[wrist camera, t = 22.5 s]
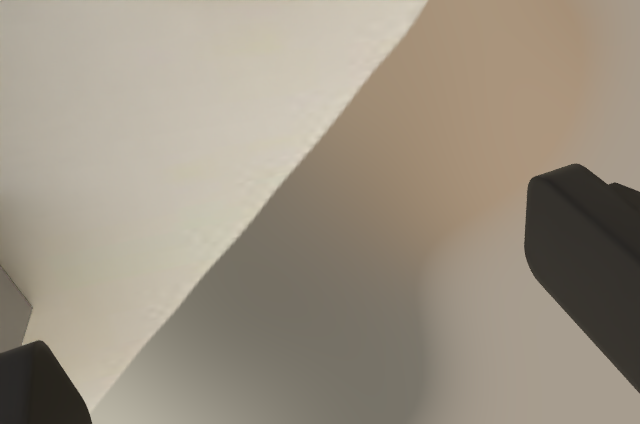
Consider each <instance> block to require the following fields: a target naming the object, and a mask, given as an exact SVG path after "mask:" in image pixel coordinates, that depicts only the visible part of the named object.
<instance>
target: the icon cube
mask: <svg viewBox="0 0 640 424" xmlns="http://www.w3.org/2000/svg"><path fill="white" fill-rule="evenodd" d="M32 309H33V308H32V306H31V305H30V304H29V302H28V301H27V300H26V298H25V297H24V296H23V294H22V293H21V292H20V291H19V289H18V288H17V287H16V285H15V284H14V283H13V281H12V280H11V279H10V278H9V276H8V275H7V274H6V272H5V271H4V270H3V268H2V267H1V266H0V353H2V352H5V351H8V350H11V349H14V348H17V347H20V346H21V345H22V342H23V339H24V335H25V332H26V329H27V326H28V322H29V319H30V316H31V312H32Z"/></svg>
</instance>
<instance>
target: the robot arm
mask: <svg viewBox="0 0 640 424" xmlns="http://www.w3.org/2000/svg"><path fill="white" fill-rule="evenodd" d="M526 209H527V210H526V225H525V242H524V244H525V245H524V248H525V255H526V259H527V262H528V265H529V267H530V269H531V271H532V273H533V275H534V276H535V278H536V279H537V280H538V281H539V283H540V284H541V285H542V286H543V287H544V288H545V290H546V291H547V292H548V293H549V294H550V295H551V296H552V297H553V298H554V299H555V301H556V302H557V303H558V304H559V305H560V306H561V307H562V308H563V309H564V310H565V312H567V314H568V315H569V316H570V317H571V318H572V319H573V320H574V321H575V323H576V324H577V325H578V326H579V327H580V328H581V329H582V330H583V331H584V333H586V334H587V336H588V337H589V338H590V339H591V340H592V341H593V342H594V343H595V344H596V346H597V347H598V348H599V349H600V350H601V351H602V352H603V353H604V355H605V356H606V357H607V358H608V359H609V360H610V361H611V362H612V363H613V364H614V366H615V367H616V368H617V369H618V370H619V371H620V372H621V373H622V374H623V375H624V377H626V379H627V380H628V381H629V382H630V383H631V384H632V385H633V386H634V388H635V389H636V390H637V391H638V392H639V393H640V192H639V191H636V190H634V189H631V188H628V187H626V186H623V185H621V184H618V183H612V184H609V185H608V184H606V183H605V182H604V181H602V180H601V179H600V178H599V177H597V176H596V175H595V174H593V173H592V172H591V171H589V170H588V169H587V168H585V167H584V166H582V165H580V164H571V165H568V166H565V167H562V168H559V169H556V170H553V171H551V172H548V173H544V174H541V175H538V176H535V177H533V178H532V179H531V180H530V182H529V184H528V191H527V208H526ZM0 424H92V422H91V417H90V414H89V411H88V409H87V406H86V404H85V402H84V400H83V398H82V397H81V395H80V394H79V392H78V391H77V389H76V388H75V386H74V385H73V383H72V382H71V380H70V379H69V377H68V376H67V374H66V373H65V371H64V370H63V368H62V367H61V365H60V364H59V362H58V360H57V359H56V357H55V356H54V354H53V353H52V351H51V350H50V348H49V347H48V346H47V345H46V344H45V343H44V342H43V341H40V340H38V341H35V342H32V343H29V344H26V345H23V346H20V347H17V348H14V349H11V350H8V351H5V352H2V353H0Z"/></svg>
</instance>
